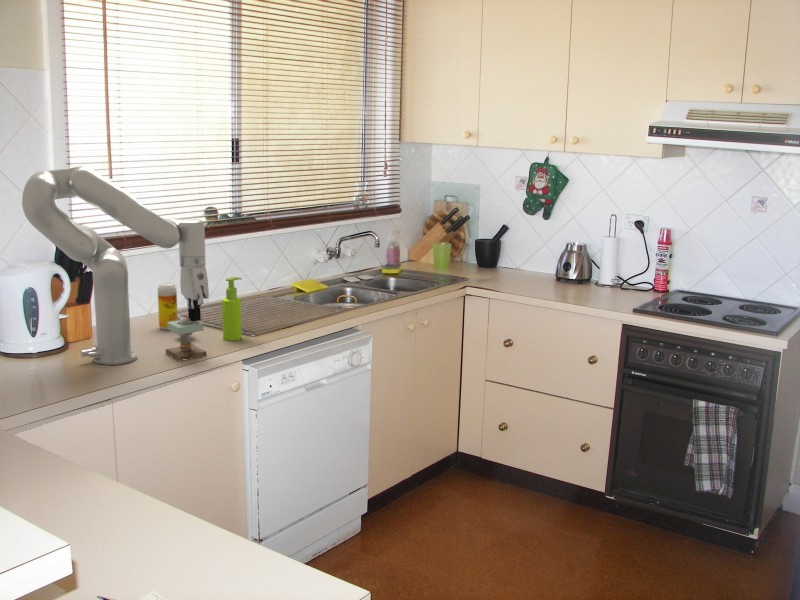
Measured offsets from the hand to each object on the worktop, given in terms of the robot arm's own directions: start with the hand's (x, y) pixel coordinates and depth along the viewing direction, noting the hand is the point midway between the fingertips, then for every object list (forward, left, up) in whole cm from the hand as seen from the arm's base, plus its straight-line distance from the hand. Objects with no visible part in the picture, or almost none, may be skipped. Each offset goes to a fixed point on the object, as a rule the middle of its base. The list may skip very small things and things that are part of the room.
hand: (194, 320), depth 263 cm
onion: (+5, +17, -11) cm, 21 cm away
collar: (-3, 0, -3) cm, 4 cm away
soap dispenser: (+18, +9, -11) cm, 23 cm away
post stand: (-3, 0, -11) cm, 11 cm away
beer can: (+6, +32, -11) cm, 34 cm away
